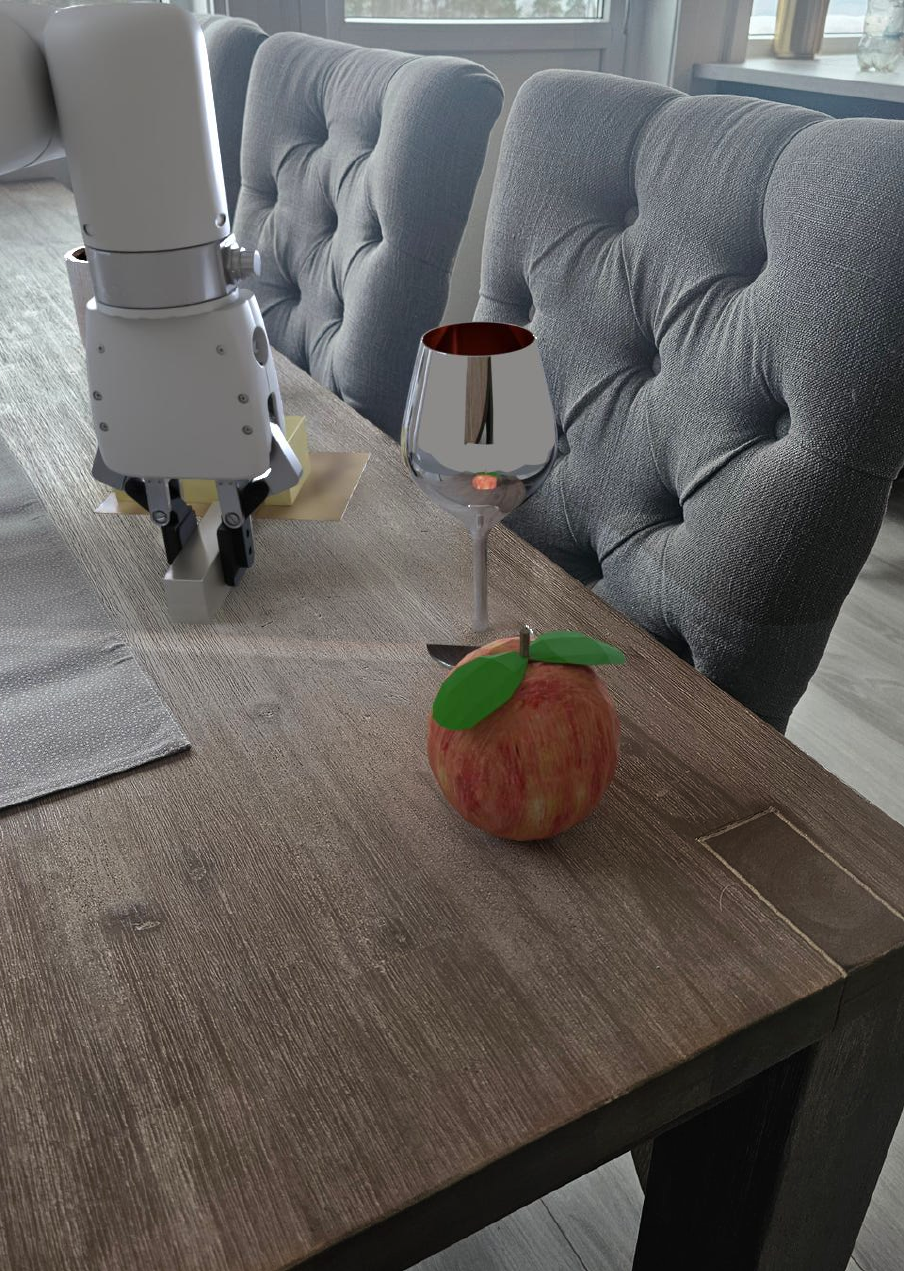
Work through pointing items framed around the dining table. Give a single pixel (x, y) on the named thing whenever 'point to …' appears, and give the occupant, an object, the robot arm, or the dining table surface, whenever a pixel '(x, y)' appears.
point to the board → (315, 500)
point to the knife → (199, 573)
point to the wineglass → (478, 435)
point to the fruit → (526, 734)
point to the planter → (79, 285)
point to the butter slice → (299, 446)
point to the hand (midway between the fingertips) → (213, 572)
